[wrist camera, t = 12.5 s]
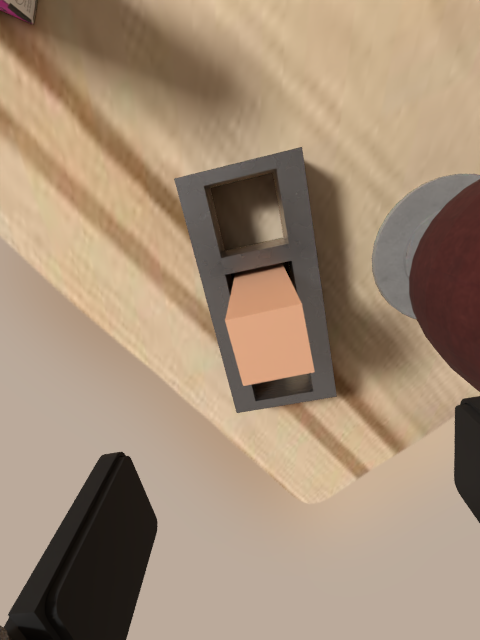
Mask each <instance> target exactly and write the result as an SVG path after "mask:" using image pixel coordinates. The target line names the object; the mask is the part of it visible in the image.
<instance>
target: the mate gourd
mask: <svg viewBox="0 0 480 640" xmlns="http://www.w3.org/2000/svg"><path fill="white" fill-rule="evenodd" d="M372 271H373V275H374V279H375V283H376V285H377V287H378V289H379V291H380V293H381V295H382V296H383V297H384V298H385V299H386V301H387V302H388V303H389V304H390V305H391V306H393V307H394V308H395V309H397V310H398V311H399V312H401V313H402V314H404V315H407V316H409V317H411V318H413V319H417V321H418V323H419V325H420V327H421V328H422V330H423V332H424V334H425V336H426V338H427V339H428V340H429V341H430V343H431V344H432V345H433V347H434V348H435V349H436V350H437V352H438V353H439V354H440V355H441V357H442V358H443V359H444V360H445V361H446V362H447V364H448V365H449V366H450V367H451V368H452V369H453V370H454V371H455V372H456V373H458V374H459V375H460V376H461V377H462V378H464V379H465V380H466V381H467V382H468V383H470V384H471V385H472V386H473V387H474V388H476V389H477V390H478V391H479V392H480V175H477V174H455V175H450V176H445V177H439V178H437V179H434V180H432V181H429V182H427V183H424V184H422V185H421V186H419V187H418V188H416V189H414V190H413V191H411V192H410V193H408V194H407V195H406V196H405V197H404V198H403V199H402V200H400V201H399V202H398V203H397V204H396V205H395V207H394V208H393V209H392V210H391V212H390V213H389V214H388V215H387V217H386V218H385V220H384V222H383V224H382V225H381V227H380V229H379V231H378V234H377V237H376V240H375V243H374V248H373V254H372Z"/></svg>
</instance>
